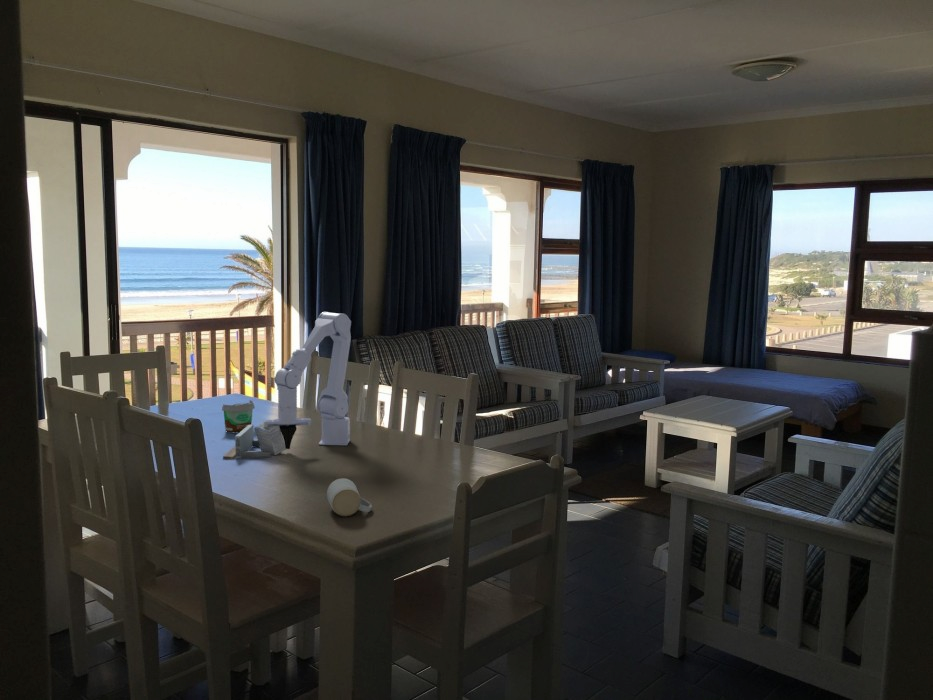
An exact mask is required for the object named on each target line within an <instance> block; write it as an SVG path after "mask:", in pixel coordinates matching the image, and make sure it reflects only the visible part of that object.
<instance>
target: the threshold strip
mask: <svg viewBox="0 0 933 700" xmlns="http://www.w3.org/2000/svg"><path fill="white" fill-rule="evenodd" d="M222 459H223V460H234V459H236V451H235V445H234V446H233V447H232V448H231V449H229V451H228V452H227V453H225V454H224V455H223V457H222Z"/></svg>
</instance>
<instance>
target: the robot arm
mask: <svg viewBox="0 0 933 700" xmlns="http://www.w3.org/2000/svg"><path fill="white" fill-rule="evenodd" d="M351 326H352V320H351V319H350V318H349V316H348V315H347V314H346V313H336V312H329V311H323V312H321V313H320V314H319V315H318V317H317V318H316V320H315V321H314V328H313V329H312V330H311V332H310V333H309V335H308V337H307V339H306V341H305V342H304V343H303V345H302V346H301V348H299V349H295V351H294V350H293V352H292V353H291V355H292V356H291V357H290V359H288V361H287V362H286V363H285V364H284V366H283V368H281V369H279V370H278V371H276V373H275V376H274V377H273V380H274V383H275V385H276V387H277V390H278V391H277V395H278V396H277V397H278V399H277V401H278V402H277V403H278V404H277V405H278V408H277V409H278V410H277V412H278V413H277V414H278V415H277V416H278V417H277V418H276V419H275V418H274V419H267V420H263V423H264V428H267V427H268V426H271V425H278V426H279V427H280V431H281V434H282V437H283V441H284V444H285V447H286V449H285V450H290V449H291V444H292V441H293V438H294V435H295V434H296V432H297V429H298V428H297V426H299V427H300V426H311V425H312V419H311V418H310V417H309V418H306V417H305V418H301V417H300V418H299V417H298V416H297V415H298V414H297V413H298V412H297V411H298V406H297V405H298V404H297V403H298V399H297V398H298V392H297V391H298V388H297V387H298V386H299V385H301V382H302V377H303V376H302V375H303V372H304V371H305V370H306V368H307V367H308V366H309V364H310V362H311V361H312V353H313V352H314V351H315V350H316V349H317V347H318V346H319V345H320V343H321V342H322V341H323V340H324V338H325V337H330V338H331V339H332V341H333V345H332V350H331V356H330V358H331V359H330V365H329V371H328V377H327V383H326V384H327V385H326V387H325V388H324V389H323V390H321V392H320V396H319V398H318V400H317V403H316V409H317V411H318V413H320V417H321V439H320V441H319V442H318V445H320V446H348V444H349V443H350V441H351V418H350V417H349V416H348V417H347V416H346V415H347V413H348V412H349V403H348V399H349V398H348V397H349V396H348V395H347V393H346V392H345V390H344V385H345V380H346V373H347V367H348V361H349V360H348V359H349V353H350V347H351V341H352V339H351V338H352V336H351V334H352V333H351Z"/></svg>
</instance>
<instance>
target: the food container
mask: <svg viewBox="0 0 933 700" xmlns="http://www.w3.org/2000/svg"><path fill="white" fill-rule="evenodd" d="M254 409H255V404H254V401H253V400H251V399H249V402H247V403H246V402H245V403H235V404H229V405H228V404H222V408H221V411H223V417H224V428H225V432H226V431H227V432H226V433H228V432H241V431H242V430H243V429H244V428H246V427H247V426H248V425H252V420H253V410H254Z"/></svg>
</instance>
